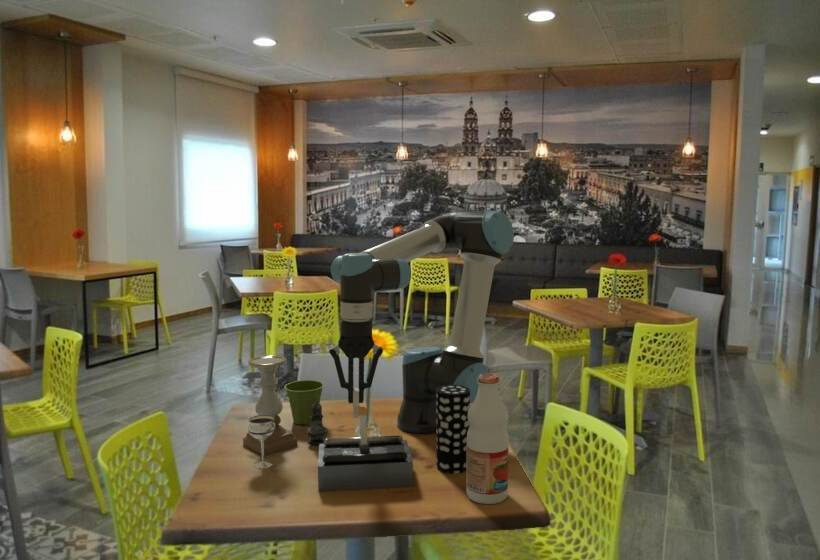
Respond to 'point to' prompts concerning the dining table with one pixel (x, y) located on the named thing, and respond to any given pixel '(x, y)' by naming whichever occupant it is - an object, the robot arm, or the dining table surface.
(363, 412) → the breaker lever
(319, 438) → the salt shaker
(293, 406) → the plant pot
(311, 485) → the dining table surface
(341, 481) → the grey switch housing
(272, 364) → the candle holder
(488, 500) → the fruit juice
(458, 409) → the spotted tube
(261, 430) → the wineglass
